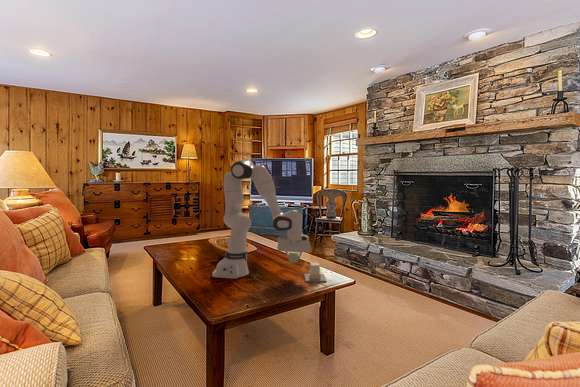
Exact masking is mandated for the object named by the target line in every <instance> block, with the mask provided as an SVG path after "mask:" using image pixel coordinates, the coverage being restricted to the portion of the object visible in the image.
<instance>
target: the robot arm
mask: <svg viewBox="0 0 580 387" xmlns="http://www.w3.org/2000/svg"><path fill="white" fill-rule="evenodd" d="M246 179H251V180H252V182H253V184H254V187H255V189H256V191H257V193H258V194H259V196H260V197H261V198H262V199H263V200H264V201H265V202H266V204H267V205H268V208H269V210H270V213H271V217H272V218H271V221H272V226H273V229H274V230H276V231H277V232H278V231H279V232H282V231H283V232H285V231H287V233H286V234H287V235H280V236H278V237H277V238H276V242H277V246H276V247H277V251H278V252H285V255H286V259H288V260H289V252H296V253H299V254H298V260H301V256H302V255H303V253H311V243H310V237H309V236H308V234H304V233H303V231H302V230H303V229H302V228H303V213H302V212H301V211H299V210H297V209H290V210H288V211H286V212H283V211H282V209H281V207H280V204H279V202H278V200H277V196H276V195H277V194H276V192H277V191H276V187H275V183H274V181H273V178H272V176H271V174H270V172H269V171H268V168H266V166H265V165H262V164H258V165H256V164H255V163H254V162H253V160H250V159H240V160H237V161H235V162H234V163H233V164H232V165H231V167H230V172H227V173H226V174H224V175H223V193H224V194H223V195H224V201H225V207H224V208H225V209H224V215H223V218H222V220H223V223H224V224H225V225H226V226H227V228H230V235H229V238H228V240H227V250H226V251H225V253H224V257H223V259H221V260H220V261H219V262H218V263H217V265H216V268H215V269H214V270H213V271H212V274H211V276H212V277H213V278H221V279H222V278H223V279H238V278H242V277H246V276H248V275H249V274H250V272H249V267H248V261H247V260H248V251H247V236H248V233H249V230H250V228H251V227H252V219H251V218H250V217H249V216H248V215H247V214H245V213H243V212H242V207H243V203H244V193H243V186H242V185H243V184H242V183H243V180H246Z"/></svg>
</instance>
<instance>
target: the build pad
mask: <svg viewBox="0 0 580 387" xmlns="http://www.w3.org/2000/svg"><path fill="white" fill-rule="evenodd" d="M303 276H304V280H305V281H304V282H305V283H327V279H326V276H325V273H320V274H311V270H309V273H304V275H303Z"/></svg>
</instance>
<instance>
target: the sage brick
mask: <svg viewBox="0 0 580 387" xmlns="http://www.w3.org/2000/svg"><path fill="white" fill-rule="evenodd" d="M288 255H289V259H288V262H289V263H292V264H293V263H298V260H299V259H298V256H299V252H288Z"/></svg>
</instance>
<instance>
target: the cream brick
mask: <svg viewBox="0 0 580 387" xmlns="http://www.w3.org/2000/svg"><path fill="white" fill-rule="evenodd" d="M320 266H321V265H320V263H319V262H310V271H311V274H321V270H320V268H321V267H320Z"/></svg>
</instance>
